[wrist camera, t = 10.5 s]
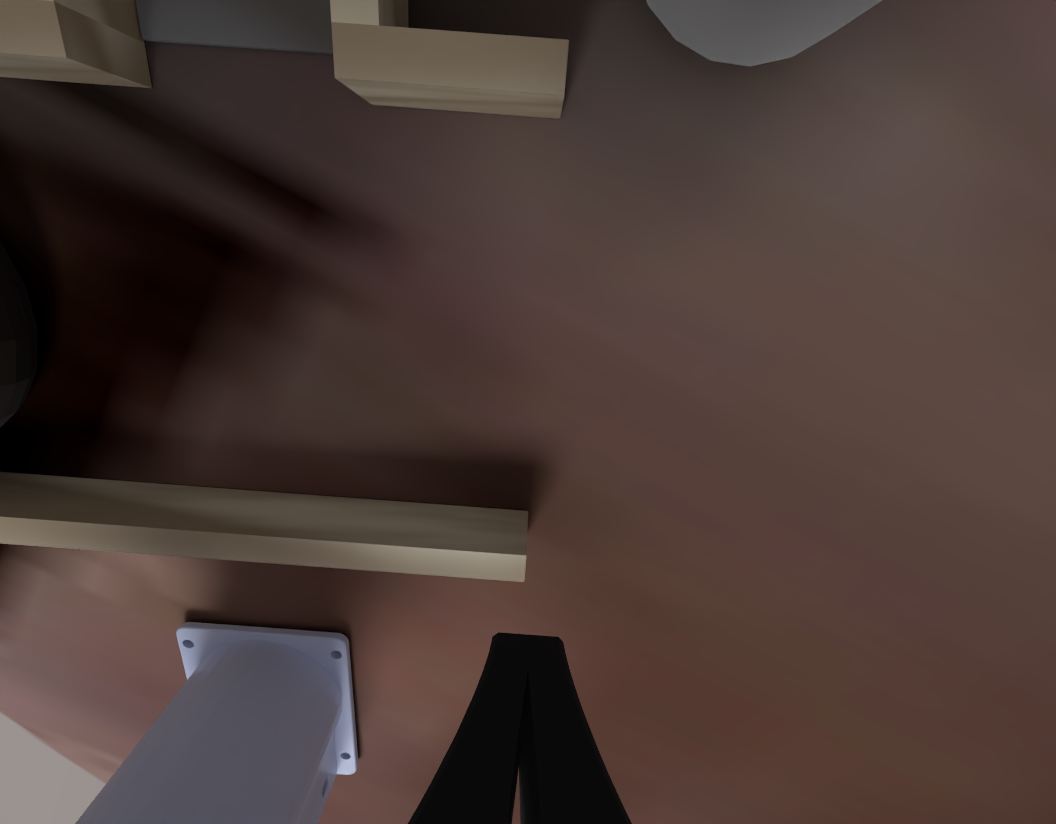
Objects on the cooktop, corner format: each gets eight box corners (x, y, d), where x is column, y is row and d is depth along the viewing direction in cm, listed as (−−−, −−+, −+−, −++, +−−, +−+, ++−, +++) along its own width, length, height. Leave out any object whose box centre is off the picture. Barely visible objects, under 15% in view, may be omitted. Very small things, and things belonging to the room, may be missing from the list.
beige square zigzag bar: (526, 534, 21) (524, 582, 18) (-195, 481, 21) (-308, 520, 18) (580, -128, 13) (590, -221, 11) (-554, -213, 13) (-843, -329, 11)
